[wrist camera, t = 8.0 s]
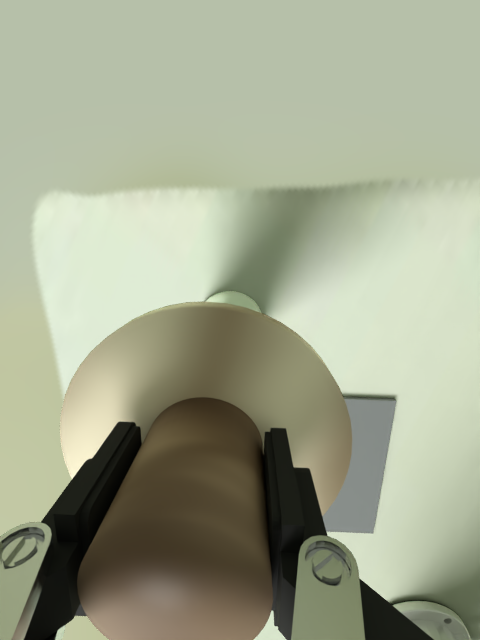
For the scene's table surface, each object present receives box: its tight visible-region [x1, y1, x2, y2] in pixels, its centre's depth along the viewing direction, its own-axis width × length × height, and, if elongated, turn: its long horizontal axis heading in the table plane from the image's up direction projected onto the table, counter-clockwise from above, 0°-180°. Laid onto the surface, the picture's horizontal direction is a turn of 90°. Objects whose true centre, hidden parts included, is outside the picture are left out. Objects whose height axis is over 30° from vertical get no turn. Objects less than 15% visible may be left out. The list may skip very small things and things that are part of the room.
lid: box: [60, 302, 352, 640], centre depth 10 cm, size 11×11×6 cm
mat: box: [322, 397, 396, 533], centre depth 32 cm, size 16×16×1 cm
